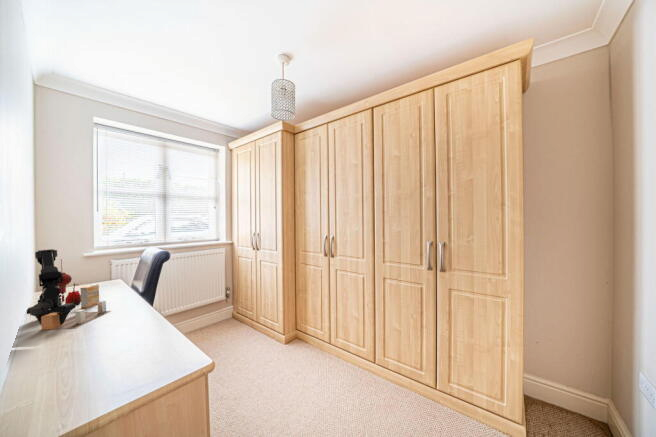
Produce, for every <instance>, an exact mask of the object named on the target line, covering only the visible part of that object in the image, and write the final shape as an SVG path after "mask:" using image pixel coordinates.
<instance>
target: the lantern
mask: <svg viewBox="0 0 656 437" xmlns="http://www.w3.org/2000/svg"><path fill="white" fill-rule="evenodd" d="M62 263H63V261H62V259H60V269H61V271H60V272H61V273H62V276H63V281H62V283H59V284H58V285H59V289H60V291H61V292H60V295H61V303H63V301H64V302H65V293H67V285H69V284H70V283H71V282H72V280H73V278H72V276H71V275H70V274H68V273H66V272H63V264H62ZM59 281H60V280H59Z"/></svg>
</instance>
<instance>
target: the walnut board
mask: <svg viewBox="0 0 656 437" xmlns="http://www.w3.org/2000/svg"><path fill="white" fill-rule="evenodd" d="M111 312H112V310H106V312H104V313H98V311H85V322H83V323H78V324H76V314H75V315H73V316H71V317H68V318H66V319H65V321H64V323H63V325H61V326H59V327H56V328H54V329H47V330H46V331H57V330H59V331H60V330H75V329H78V328H79V327H81V326H83V325H85V324H88V323H89V322H91V321H94V320H96V319H98V318H101V317H102V316H104V315H107V314H108V313H111ZM40 331H41V332H42V331H43V332H44V330H42V329H40V330H39V332H40Z"/></svg>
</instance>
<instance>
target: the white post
mask: <svg viewBox="0 0 656 437" xmlns="http://www.w3.org/2000/svg"><path fill="white" fill-rule="evenodd" d="M85 312H86V308H83V309H78V310H75V315H76V324H78V323H83V322H85Z"/></svg>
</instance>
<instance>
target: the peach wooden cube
mask: <svg viewBox="0 0 656 437" xmlns="http://www.w3.org/2000/svg"><path fill="white" fill-rule="evenodd" d="M41 324H42V326H41V330H43V331H48V330H47V329H54V328H56V327H59V326H61V325H60V319H59V315H58V314H57V313H50V314H47V315H45V316H42V317H41ZM41 324H40V325H41ZM62 325H63V324H62Z"/></svg>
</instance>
